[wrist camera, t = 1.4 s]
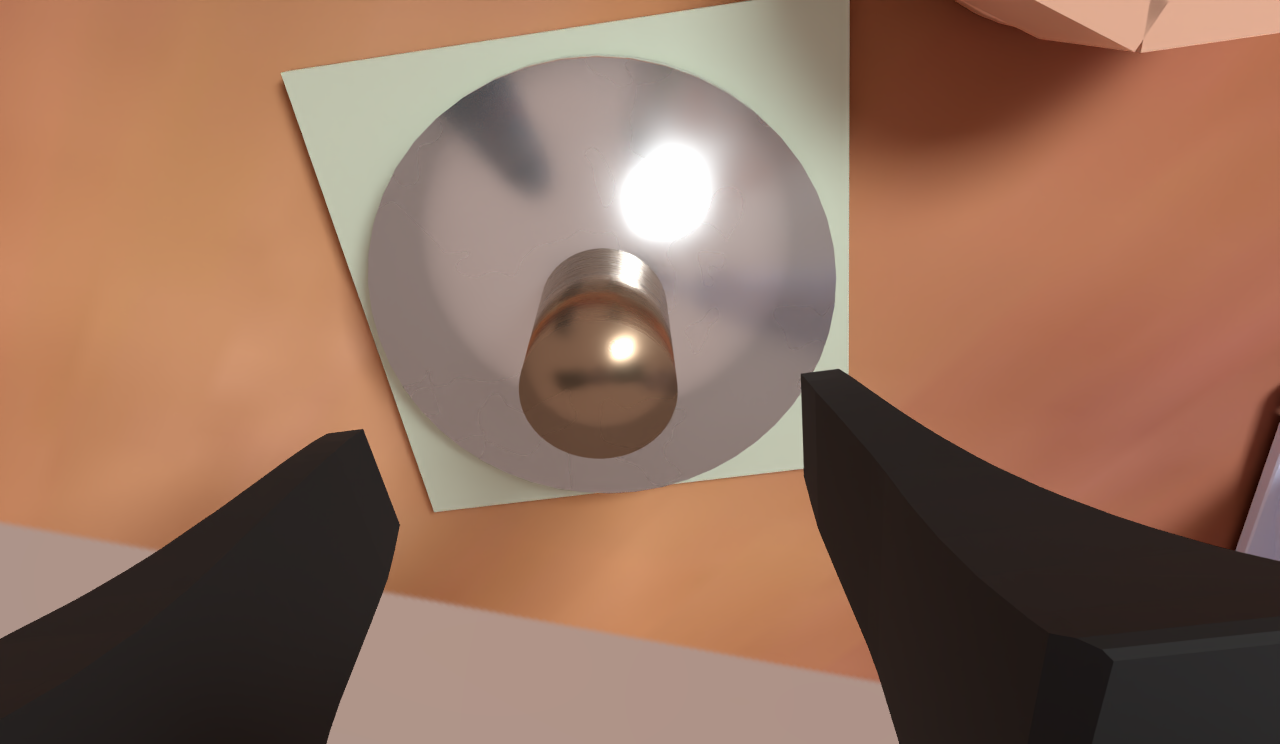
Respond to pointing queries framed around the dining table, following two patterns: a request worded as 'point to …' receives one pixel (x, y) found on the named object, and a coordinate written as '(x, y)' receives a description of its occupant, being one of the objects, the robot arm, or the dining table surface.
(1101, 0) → the bowl
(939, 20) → the dining table surface
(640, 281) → the lid
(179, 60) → the dining table surface
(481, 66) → the mat
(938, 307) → the dining table surface
